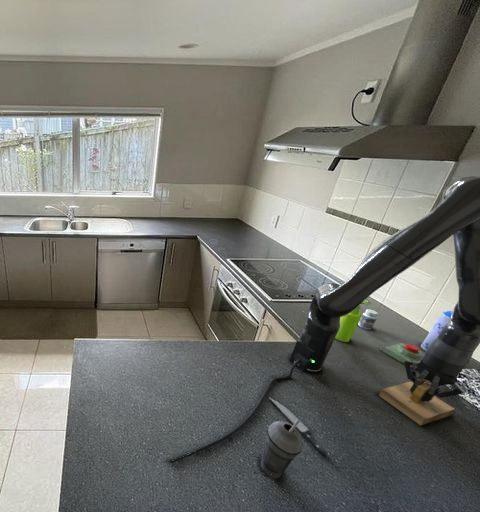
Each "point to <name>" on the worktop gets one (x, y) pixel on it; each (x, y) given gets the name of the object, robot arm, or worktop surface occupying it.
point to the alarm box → (402, 353)
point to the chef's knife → (298, 425)
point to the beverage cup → (280, 447)
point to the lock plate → (415, 404)
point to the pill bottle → (368, 319)
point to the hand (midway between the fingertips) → (418, 397)
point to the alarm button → (411, 348)
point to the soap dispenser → (349, 324)
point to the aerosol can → (436, 329)
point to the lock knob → (420, 392)
